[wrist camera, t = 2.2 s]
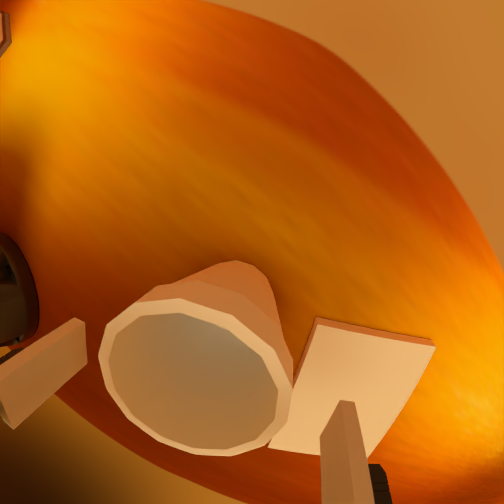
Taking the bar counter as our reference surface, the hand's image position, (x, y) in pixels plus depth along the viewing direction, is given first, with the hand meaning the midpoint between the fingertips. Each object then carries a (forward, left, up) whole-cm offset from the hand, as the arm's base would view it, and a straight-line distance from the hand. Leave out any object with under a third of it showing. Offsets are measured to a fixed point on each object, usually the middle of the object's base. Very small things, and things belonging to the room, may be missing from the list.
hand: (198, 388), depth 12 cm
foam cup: (0, 0, -13) cm, 13 cm away
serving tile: (+13, -8, -12) cm, 19 cm away
